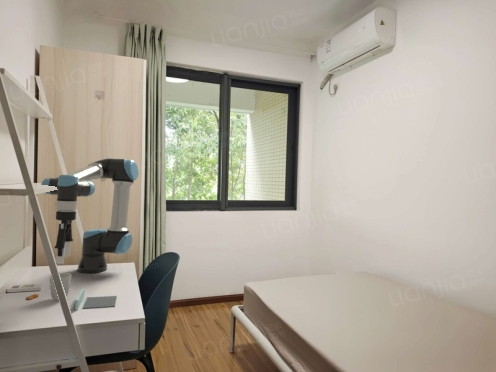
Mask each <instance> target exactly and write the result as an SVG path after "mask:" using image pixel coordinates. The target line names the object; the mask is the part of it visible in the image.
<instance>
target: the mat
mask: <svg viewBox="0 0 496 372" xmlns="http://www.w3.org/2000/svg"><path fill="white" fill-rule="evenodd" d="M117 296H118V295H109V296H90V297H89V296H88V297H86V299H85V301H84V303H83V306H82V309H83V310H84V309H85V310H86V309H99V308H100V309H102V308H103V309H104V308H115V307H116V301H117Z"/></svg>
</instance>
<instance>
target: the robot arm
mask: <svg viewBox="0 0 496 372" xmlns="http://www.w3.org/2000/svg"><path fill="white" fill-rule="evenodd" d="M138 177H139V167H138V165H137V162H136V161H135V160H133V159H127V158H110V157H109V158H103V159H100V160H96V161H93V162H91V163H90V162H89V163H88V165H87V166H85V167H83V168H79V169H78V170H74V171H72V172H69V173H67V174H60V175H59V176H58V177H55V178H54V177H47V178H44V179H43V180H42V182H41V183H40V186H41V185H48V186H55V187H57V189H58V190H54V191H50V192H46V193H44V194H46V195H47V194H48V195H51V196H57V197H56V202H55V204H54V205H55V206H56V211H55V212H56V213H55V220H57V221H61V222H60V223H58V231H57V236H56V243H55V245H54V249H56V257H55V264H56V265H63V264H64V263H65V257H70V256H71V250H72V249H71V245H72V242H73V241H74V239H73V231H72V227H73V226H72V223H73V221H75V220H76V219H77V212H76V211H77V207H78V206H77V205H78V197H89V196H92V195H93V194H94V193H95V190H96V185H95V184H94V182H92V180H100V179H111V182H112V183H113V185H114V188H113V196H112V197H113V198H112V205H111V216H110V217H111V218H110V225H109V227H108V228H107V229H106V228H96V229H88V230H85V231H84V232H83V235H82V248H81V252H82V253H81V258H80V261H79V263H78V266H77V272H79V273H83V274H96V273H97V274H98V273H102V272H106V271H107V269H108V264H107V259H106V257H105V253H106V254H116V255H124V254H126V253H128V252H129V250H130V248H131V246H132V243H133V235H132V234H131V233H130V229H128V227H127V225H128V218H129V217H128V214H129V204H130V193H131V186H132V185H134V181H136V180H137V179H138Z"/></svg>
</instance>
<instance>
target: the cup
mask: <svg viewBox="0 0 496 372" xmlns="http://www.w3.org/2000/svg"><path fill="white" fill-rule="evenodd" d="M58 274H60V277H61V281H62V284H63V287H64V290H65V293H66V296H67V297H68V295H69V291H70V288H71V281H72V274H71V273H69V272H68V273H67V272H66V273H65V272H63V273H62V272H59V273H58ZM52 275H53V274H51V275H49V290H50V295H51V296H50V297H51V298H52V301H53V300H54V302H60V301H59V299H58V296H57V292H56V289H55V285H54V282H53V278H52Z"/></svg>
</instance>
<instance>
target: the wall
mask: <svg viewBox="0 0 496 372" xmlns="http://www.w3.org/2000/svg"><path fill="white" fill-rule="evenodd" d="M84 299H85V288H81V289H80V292H79V293H78V295H77V298H76V299H75V307H74V309H75V311H79V309H80V306H81V304H82V302H83V300H84Z"/></svg>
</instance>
